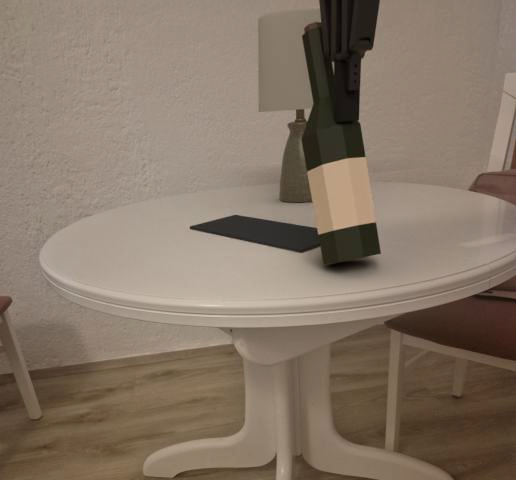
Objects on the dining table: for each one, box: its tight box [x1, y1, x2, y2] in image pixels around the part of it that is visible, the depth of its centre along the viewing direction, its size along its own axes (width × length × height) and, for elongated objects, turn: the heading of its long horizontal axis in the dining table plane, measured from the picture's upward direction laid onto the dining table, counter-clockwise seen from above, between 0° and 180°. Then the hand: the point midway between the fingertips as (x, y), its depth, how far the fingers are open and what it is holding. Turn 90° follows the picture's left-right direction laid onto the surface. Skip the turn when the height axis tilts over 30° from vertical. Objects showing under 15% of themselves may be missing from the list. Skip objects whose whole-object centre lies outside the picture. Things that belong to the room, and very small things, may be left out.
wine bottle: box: [301, 22, 382, 266], centre depth 64 cm, size 8×8×30 cm
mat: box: [189, 214, 320, 253], centre depth 89 cm, size 30×12×1 cm, turn 43°
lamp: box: [257, 7, 334, 203], centre depth 108 cm, size 19×19×37 cm
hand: (346, 120), depth 60 cm, fingers closed
